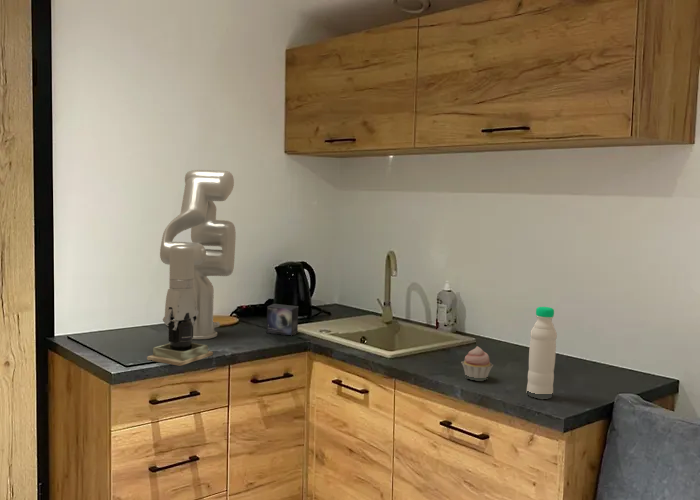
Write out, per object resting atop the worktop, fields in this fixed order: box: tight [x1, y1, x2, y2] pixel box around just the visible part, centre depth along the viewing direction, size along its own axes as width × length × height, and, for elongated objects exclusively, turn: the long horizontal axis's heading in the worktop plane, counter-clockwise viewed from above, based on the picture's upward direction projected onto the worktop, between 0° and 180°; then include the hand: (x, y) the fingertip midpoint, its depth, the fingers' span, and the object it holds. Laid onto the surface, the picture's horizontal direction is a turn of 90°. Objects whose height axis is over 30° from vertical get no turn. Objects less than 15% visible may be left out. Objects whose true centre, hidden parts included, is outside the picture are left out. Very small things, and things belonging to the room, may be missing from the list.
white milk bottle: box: [526, 306, 558, 394], centre depth 188 cm, size 7×7×25 cm
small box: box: [266, 303, 299, 337], centre depth 255 cm, size 11×6×10 cm, turn 72°
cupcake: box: [460, 345, 494, 378], centre depth 204 cm, size 9×9×10 cm
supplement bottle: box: [169, 313, 193, 351], centre depth 216 cm, size 7×7×12 cm
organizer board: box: [146, 342, 214, 367], centre depth 216 cm, size 16×13×4 cm
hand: (181, 339), depth 216 cm, fingers closed on supplement bottle, 6 cm apart
